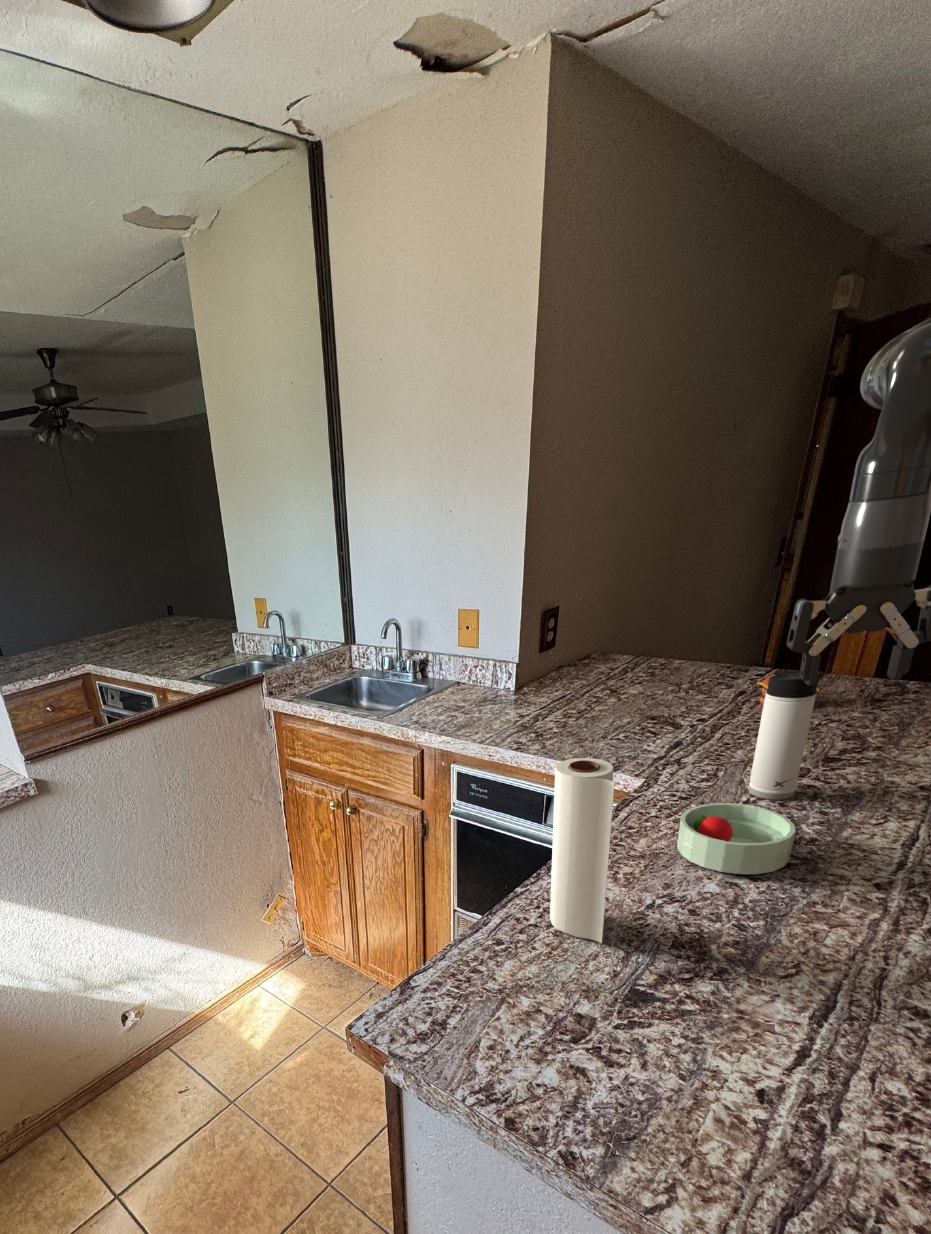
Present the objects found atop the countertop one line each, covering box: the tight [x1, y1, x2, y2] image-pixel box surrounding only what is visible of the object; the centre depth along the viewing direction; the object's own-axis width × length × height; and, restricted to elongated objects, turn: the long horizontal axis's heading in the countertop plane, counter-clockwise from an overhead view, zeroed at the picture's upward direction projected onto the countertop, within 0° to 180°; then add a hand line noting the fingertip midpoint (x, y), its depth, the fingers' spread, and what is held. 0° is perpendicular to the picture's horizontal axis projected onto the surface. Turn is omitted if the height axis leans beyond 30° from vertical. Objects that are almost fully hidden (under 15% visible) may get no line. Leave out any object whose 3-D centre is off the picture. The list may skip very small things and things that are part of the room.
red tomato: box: [693, 816, 733, 842], centre depth 92 cm, size 4×4×5 cm
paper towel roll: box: [549, 757, 616, 944], centre depth 77 cm, size 7×6×21 cm
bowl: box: [676, 802, 796, 875], centre depth 90 cm, size 13×13×5 cm
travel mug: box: [747, 669, 824, 801], centre depth 101 cm, size 6×7×20 cm
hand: (851, 680), depth 81 cm, fingers open, 8 cm apart
